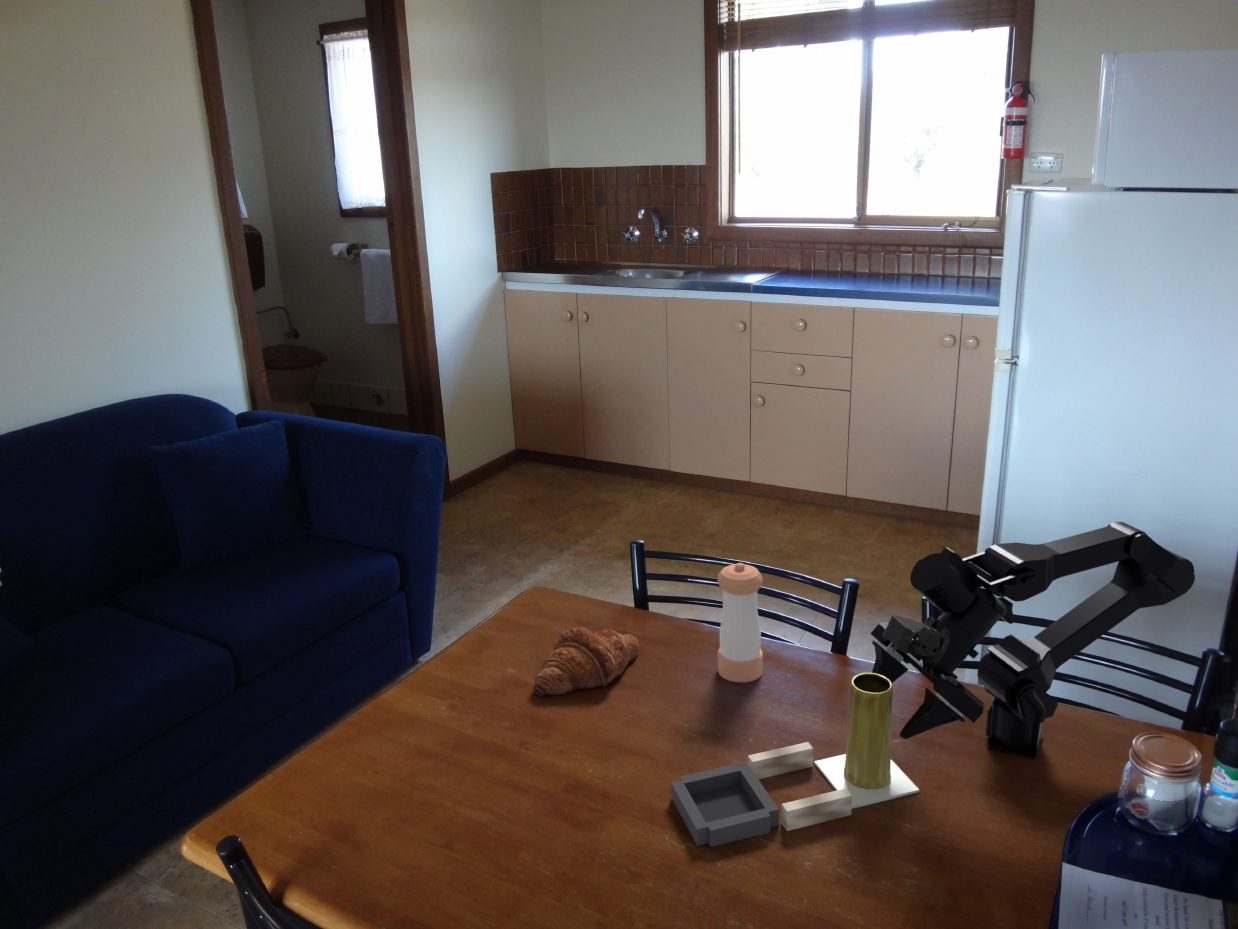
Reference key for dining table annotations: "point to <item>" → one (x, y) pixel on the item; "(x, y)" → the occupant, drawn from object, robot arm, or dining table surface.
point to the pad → (865, 796)
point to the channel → (807, 808)
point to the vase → (869, 731)
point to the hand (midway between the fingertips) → (882, 717)
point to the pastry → (585, 660)
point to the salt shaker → (740, 624)
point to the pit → (724, 805)
